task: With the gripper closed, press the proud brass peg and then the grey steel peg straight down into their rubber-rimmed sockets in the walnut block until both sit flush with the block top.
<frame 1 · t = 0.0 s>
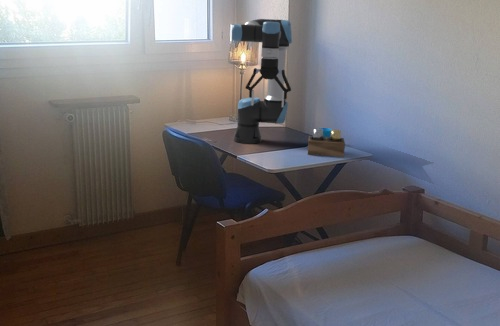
hand: (267, 106, 255), 28 cm above the table, fingers open, 13 cm apart
brass peg: (335, 137, 289), point 9 cm above the table, slide at 5.0 cm
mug: (326, 145, 310), on the table
steel peg: (317, 135, 290), point 9 cm above the table, slide at 5.0 cm
socket block: (325, 152, 291), on the table
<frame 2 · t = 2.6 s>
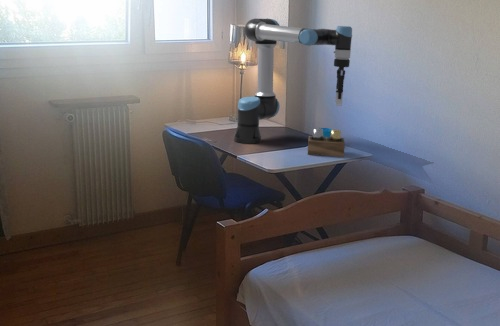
hand: (338, 103, 284), 26 cm above the table, fingers open, 9 cm apart
nothing on the table moved.
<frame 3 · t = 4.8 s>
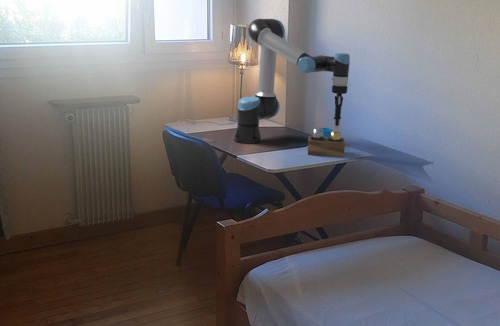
hand: (336, 131, 288), 11 cm above the table, fingers closed
brass peg: (335, 138, 289), point 8 cm above the table, slide at 4.2 cm, touching gripper
everything else where it was.
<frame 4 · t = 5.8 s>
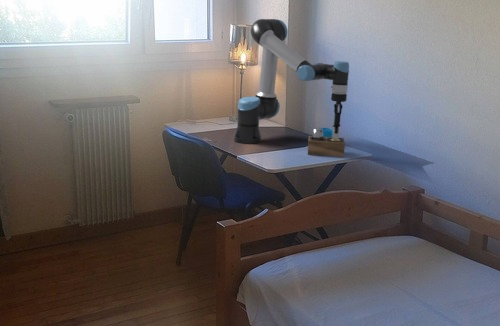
hand: (335, 139, 289), 7 cm above the table, fingers closed
brass peg: (334, 146, 290), point 4 cm above the table, slide at 0.2 cm, touching gripper
everything else where it was.
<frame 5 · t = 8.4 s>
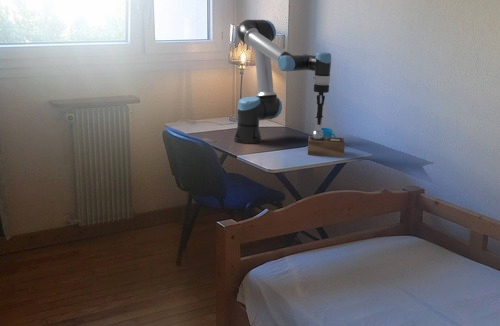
hand: (318, 130, 289), 11 cm above the table, fingers closed
brass peg: (334, 146, 290), point 4 cm above the table, slide at 0.2 cm
steel peg: (317, 137, 290), point 8 cm above the table, slide at 4.2 cm, touching gripper
everything else where it was.
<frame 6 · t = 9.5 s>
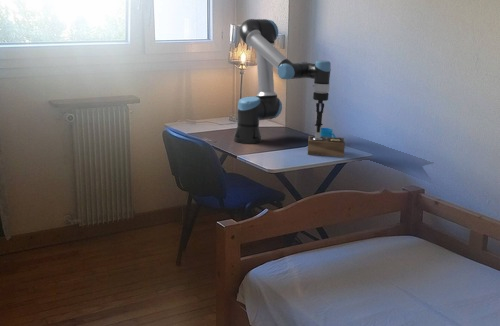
hand: (317, 138, 290), 7 cm above the table, fingers closed
steel peg: (317, 145, 291), point 4 cm above the table, slide at 0.2 cm, touching gripper
everything else where it was.
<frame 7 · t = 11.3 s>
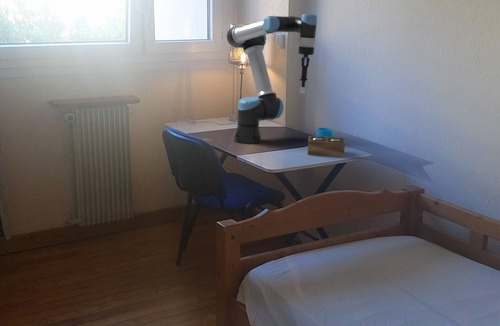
hand: (302, 93, 289), 29 cm above the table, fingers closed
steel peg: (317, 145, 291), point 4 cm above the table, slide at 0.2 cm
everything else where it was.
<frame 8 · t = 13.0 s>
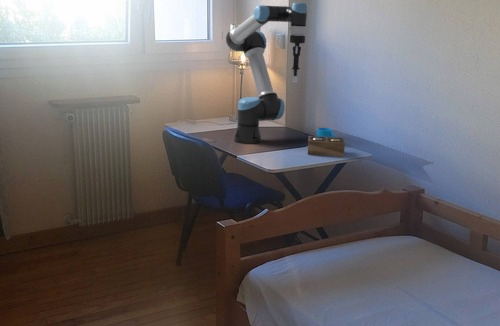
hand: (294, 82, 290), 34 cm above the table, fingers closed
nothing on the table moved.
at the end: brass peg slide at 0.2 cm; steel peg slide at 0.2 cm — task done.
